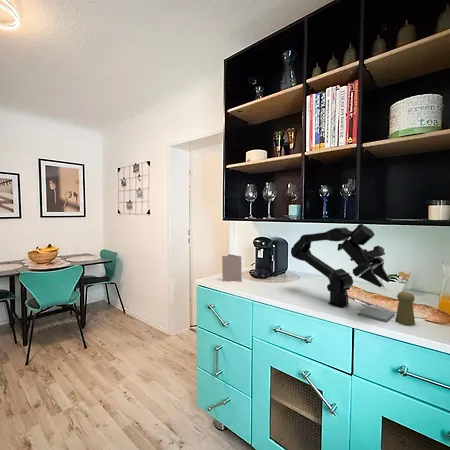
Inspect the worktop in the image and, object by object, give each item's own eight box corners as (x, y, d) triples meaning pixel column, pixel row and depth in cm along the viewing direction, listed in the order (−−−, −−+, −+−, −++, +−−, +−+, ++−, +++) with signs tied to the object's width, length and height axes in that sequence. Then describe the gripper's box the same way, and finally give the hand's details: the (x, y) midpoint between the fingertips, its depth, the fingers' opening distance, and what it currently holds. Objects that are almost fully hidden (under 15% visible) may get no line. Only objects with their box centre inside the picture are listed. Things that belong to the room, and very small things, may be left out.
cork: (407, 318, 100) (408, 290, 100) (419, 325, 94) (420, 295, 94) (391, 319, 100) (392, 290, 100) (402, 326, 94) (403, 295, 93)
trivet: (358, 314, 104) (358, 312, 104) (367, 308, 111) (367, 305, 111) (386, 322, 97) (386, 319, 97) (395, 314, 104) (395, 312, 104)
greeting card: (242, 281, 155) (242, 256, 154) (233, 284, 150) (233, 257, 149) (229, 278, 163) (229, 253, 163) (220, 280, 159) (219, 255, 158)
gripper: (361, 241, 98) (395, 276, 91) (378, 237, 111) (409, 267, 103) (340, 260, 104) (370, 293, 97) (358, 254, 117) (386, 283, 109)
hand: (385, 283), depth 101 cm, fingers open, 9 cm apart
